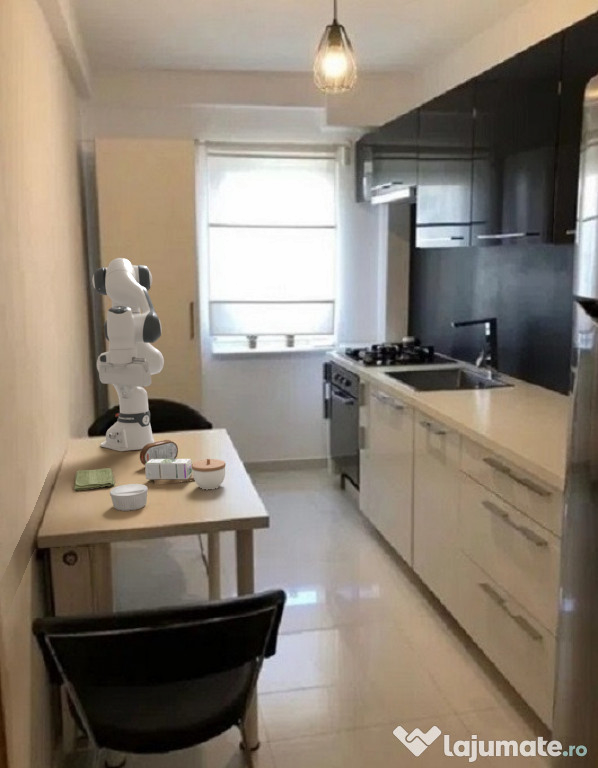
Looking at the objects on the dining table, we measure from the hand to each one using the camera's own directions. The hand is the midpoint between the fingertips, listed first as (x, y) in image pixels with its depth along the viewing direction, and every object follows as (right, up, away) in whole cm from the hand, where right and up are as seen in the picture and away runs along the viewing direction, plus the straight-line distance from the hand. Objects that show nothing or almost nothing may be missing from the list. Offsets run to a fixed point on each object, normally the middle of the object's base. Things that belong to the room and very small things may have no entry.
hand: (126, 398), depth 236 cm
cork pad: (+14, -27, +7) cm, 31 cm away
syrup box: (+6, -24, +4) cm, 25 cm away
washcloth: (-12, -29, +5) cm, 32 cm away
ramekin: (+6, -32, -21) cm, 39 cm away
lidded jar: (+28, -29, -5) cm, 40 cm away
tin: (+6, -25, +23) cm, 35 cm away
